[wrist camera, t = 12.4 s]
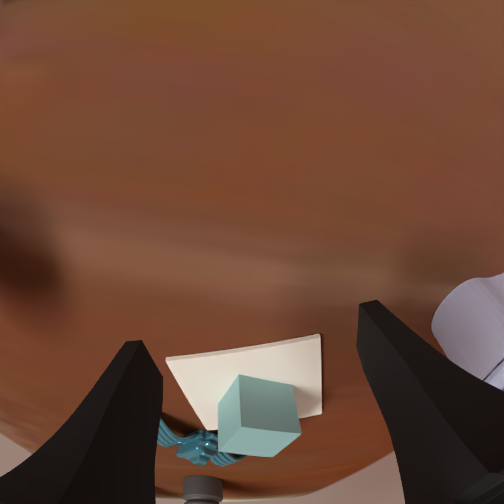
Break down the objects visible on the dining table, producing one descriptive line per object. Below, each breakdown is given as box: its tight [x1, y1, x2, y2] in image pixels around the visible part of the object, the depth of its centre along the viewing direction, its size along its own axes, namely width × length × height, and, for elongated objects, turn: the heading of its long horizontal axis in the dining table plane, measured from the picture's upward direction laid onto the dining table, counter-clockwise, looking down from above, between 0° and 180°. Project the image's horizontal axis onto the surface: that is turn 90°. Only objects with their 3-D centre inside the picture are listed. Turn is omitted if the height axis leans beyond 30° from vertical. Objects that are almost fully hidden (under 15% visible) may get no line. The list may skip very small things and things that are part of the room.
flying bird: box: [157, 418, 248, 466], centre depth 30 cm, size 15×7×4 cm, turn 42°
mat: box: [166, 334, 322, 430], centre depth 26 cm, size 12×12×1 cm
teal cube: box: [218, 374, 302, 457], centre depth 24 cm, size 5×5×5 cm
